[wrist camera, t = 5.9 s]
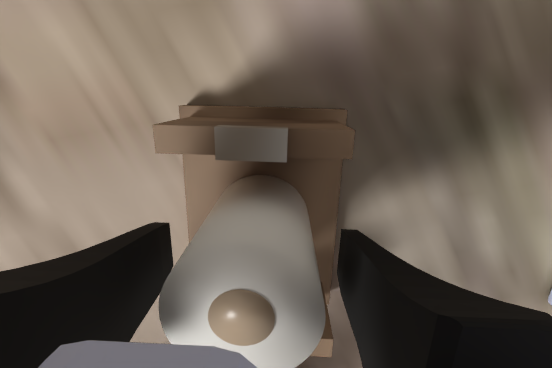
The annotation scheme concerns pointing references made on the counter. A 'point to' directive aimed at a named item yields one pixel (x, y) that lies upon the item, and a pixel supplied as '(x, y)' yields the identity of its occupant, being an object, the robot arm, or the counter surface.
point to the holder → (265, 165)
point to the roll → (249, 278)
